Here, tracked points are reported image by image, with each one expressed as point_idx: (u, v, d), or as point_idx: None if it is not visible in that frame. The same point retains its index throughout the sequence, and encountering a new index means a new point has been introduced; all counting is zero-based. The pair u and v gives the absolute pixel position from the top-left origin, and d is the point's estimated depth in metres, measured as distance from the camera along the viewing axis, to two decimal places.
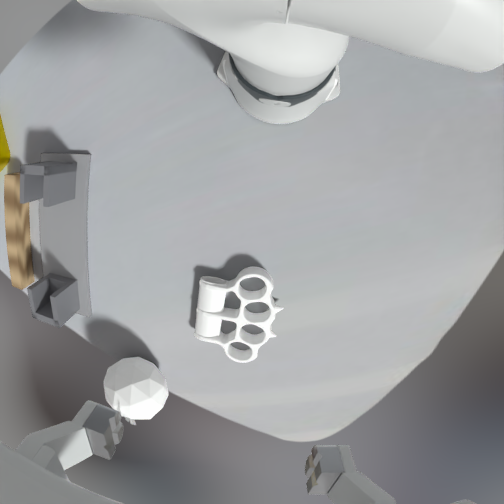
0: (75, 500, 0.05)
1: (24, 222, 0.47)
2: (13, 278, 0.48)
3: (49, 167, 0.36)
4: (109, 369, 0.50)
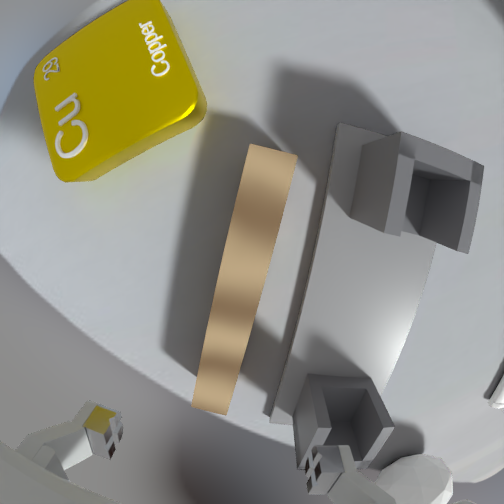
0: (75, 500, 0.05)
1: None
2: (206, 394, 0.25)
3: (482, 168, 0.16)
4: (398, 486, 0.26)
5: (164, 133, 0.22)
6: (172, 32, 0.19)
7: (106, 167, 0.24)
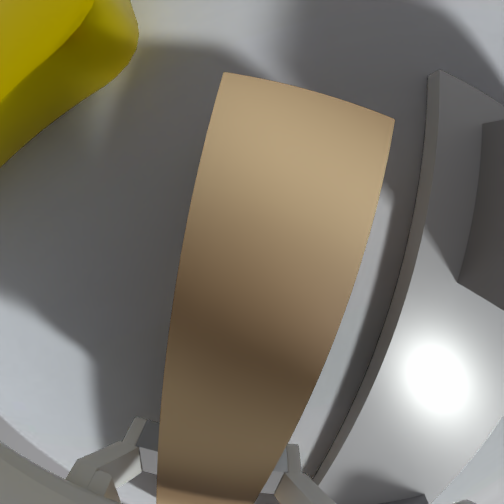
0: (75, 500, 0.05)
1: None
2: None
3: None
4: None
5: (32, 99, 0.07)
6: None
7: None
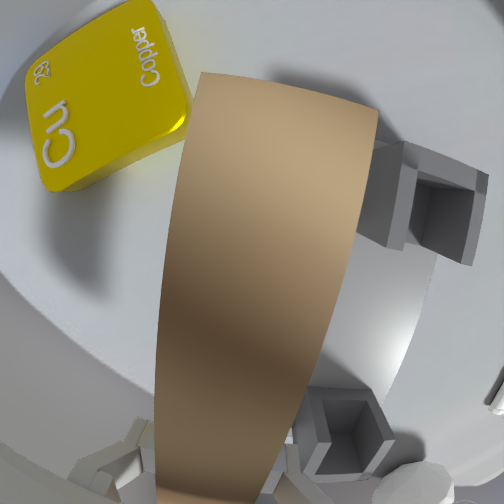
0: (75, 500, 0.05)
1: None
2: None
3: (486, 177, 0.15)
4: (399, 494, 0.25)
5: (152, 146, 0.22)
6: (164, 40, 0.18)
7: (93, 178, 0.23)
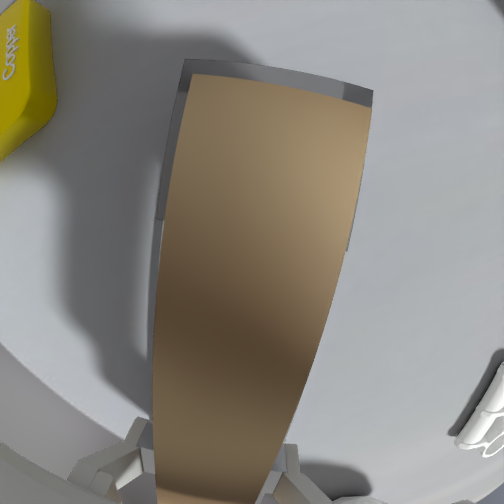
0: (75, 500, 0.05)
1: None
2: None
3: (370, 95, 0.10)
4: None
5: (11, 135, 0.17)
6: (27, 32, 0.13)
7: None
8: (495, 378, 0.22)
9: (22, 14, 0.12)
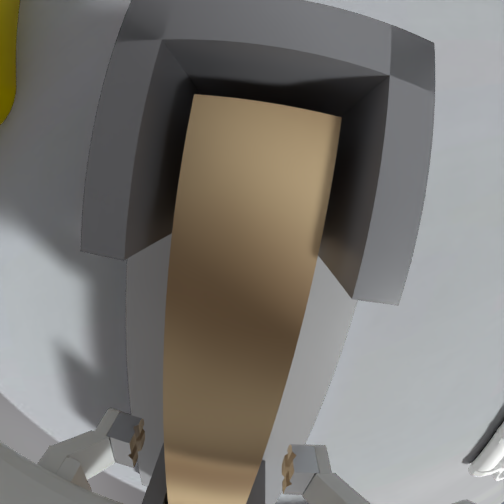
0: (75, 500, 0.05)
1: None
2: None
3: (430, 50, 0.05)
4: None
5: None
6: None
7: None
8: None
9: None
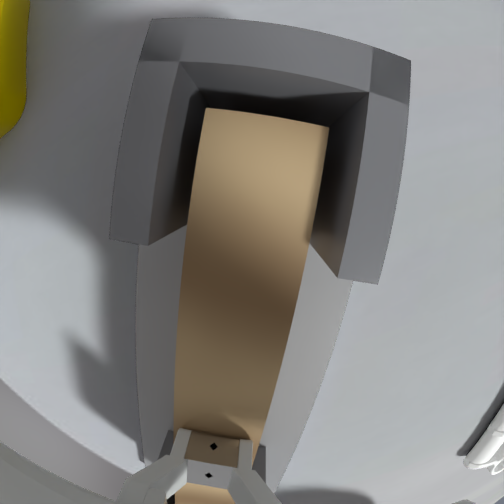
0: (75, 500, 0.05)
1: None
2: None
3: (407, 67, 0.06)
4: None
5: None
6: None
7: None
8: None
9: None
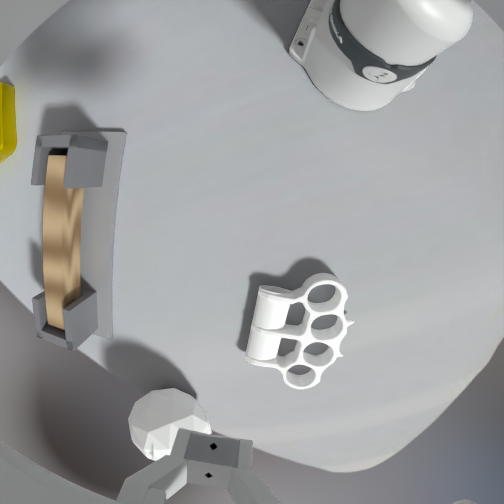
0: (75, 500, 0.05)
1: (73, 230, 0.35)
2: (52, 312, 0.35)
3: (77, 136, 0.29)
4: (137, 404, 0.39)
5: None
6: (1, 108, 0.32)
7: None
8: None
9: None
